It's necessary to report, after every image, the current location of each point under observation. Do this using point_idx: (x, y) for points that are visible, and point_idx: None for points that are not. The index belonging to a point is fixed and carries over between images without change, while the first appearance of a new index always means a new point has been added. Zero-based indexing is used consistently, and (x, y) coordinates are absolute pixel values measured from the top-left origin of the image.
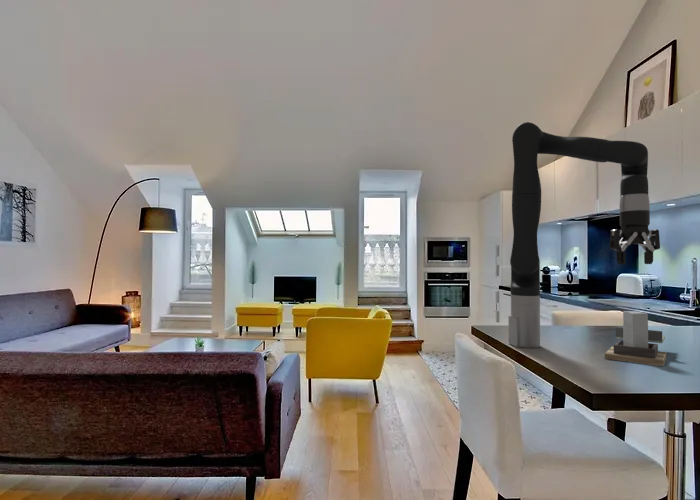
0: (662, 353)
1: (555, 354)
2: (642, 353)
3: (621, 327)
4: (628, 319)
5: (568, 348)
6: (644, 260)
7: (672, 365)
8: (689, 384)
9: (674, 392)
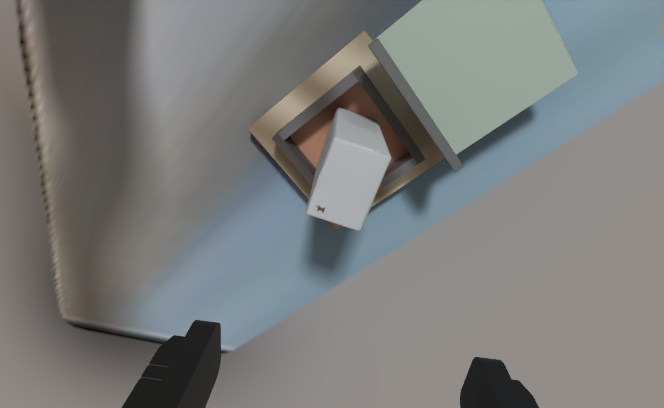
0: (420, 165)
1: (131, 40)
2: None
3: (388, 58)
4: (318, 172)
5: None
6: (489, 381)
7: (369, 220)
8: (265, 323)
9: None
